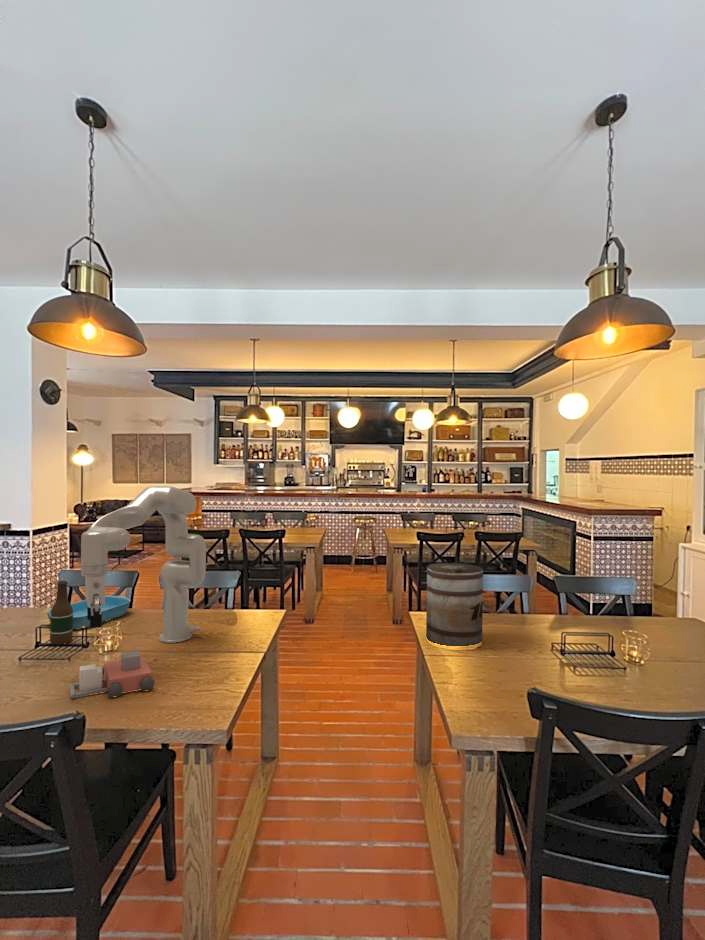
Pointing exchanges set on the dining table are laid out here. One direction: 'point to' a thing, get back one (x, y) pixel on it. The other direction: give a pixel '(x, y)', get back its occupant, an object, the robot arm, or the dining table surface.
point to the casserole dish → (112, 609)
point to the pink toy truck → (122, 676)
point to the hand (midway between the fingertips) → (94, 623)
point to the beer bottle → (61, 617)
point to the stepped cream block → (90, 678)
